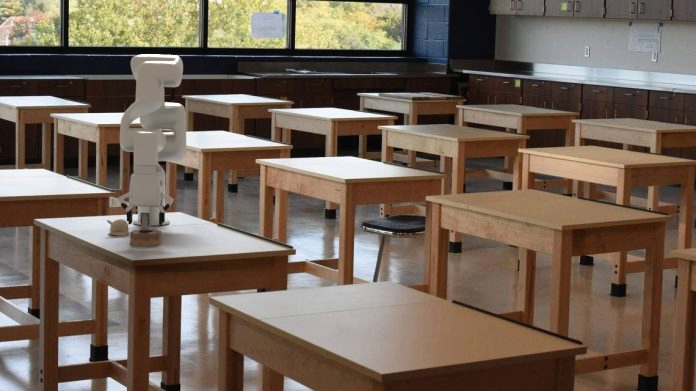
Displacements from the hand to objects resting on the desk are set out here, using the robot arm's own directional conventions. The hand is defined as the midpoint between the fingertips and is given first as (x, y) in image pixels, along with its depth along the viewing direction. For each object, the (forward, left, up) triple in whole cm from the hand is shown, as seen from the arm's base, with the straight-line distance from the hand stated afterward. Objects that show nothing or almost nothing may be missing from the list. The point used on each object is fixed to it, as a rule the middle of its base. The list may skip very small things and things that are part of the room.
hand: (145, 224), depth 368 cm
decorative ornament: (-16, -12, -7) cm, 21 cm away
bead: (0, 0, -6) cm, 6 cm away
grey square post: (0, 0, -6) cm, 6 cm away
